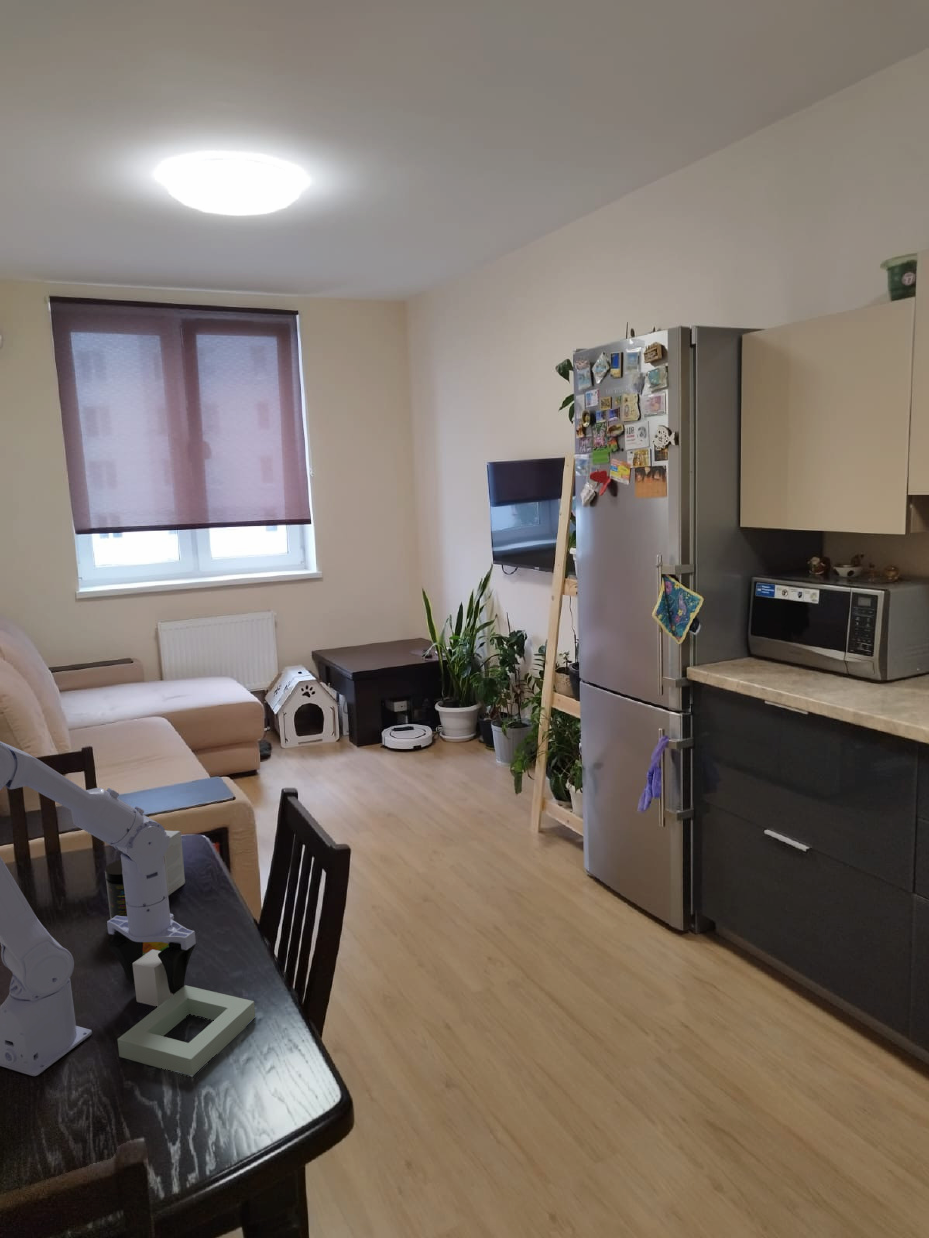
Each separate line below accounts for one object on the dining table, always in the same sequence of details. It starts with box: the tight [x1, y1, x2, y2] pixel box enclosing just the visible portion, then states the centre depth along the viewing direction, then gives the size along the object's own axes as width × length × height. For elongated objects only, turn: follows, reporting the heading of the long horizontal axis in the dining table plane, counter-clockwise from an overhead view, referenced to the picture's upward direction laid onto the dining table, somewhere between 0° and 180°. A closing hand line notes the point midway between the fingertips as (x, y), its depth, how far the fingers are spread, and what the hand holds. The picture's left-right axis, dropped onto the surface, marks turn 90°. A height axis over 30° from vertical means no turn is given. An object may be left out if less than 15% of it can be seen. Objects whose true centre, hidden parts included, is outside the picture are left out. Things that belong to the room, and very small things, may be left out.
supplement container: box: [104, 858, 127, 919], centre depth 148 cm, size 7×7×10 cm
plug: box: [132, 949, 173, 1008], centre depth 127 cm, size 5×4×6 cm
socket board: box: [116, 984, 256, 1075], centre depth 117 cm, size 13×12×2 cm
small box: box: [164, 829, 186, 897], centre depth 161 cm, size 8×6×10 cm
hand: (156, 984), depth 127 cm, fingers open, 7 cm apart
